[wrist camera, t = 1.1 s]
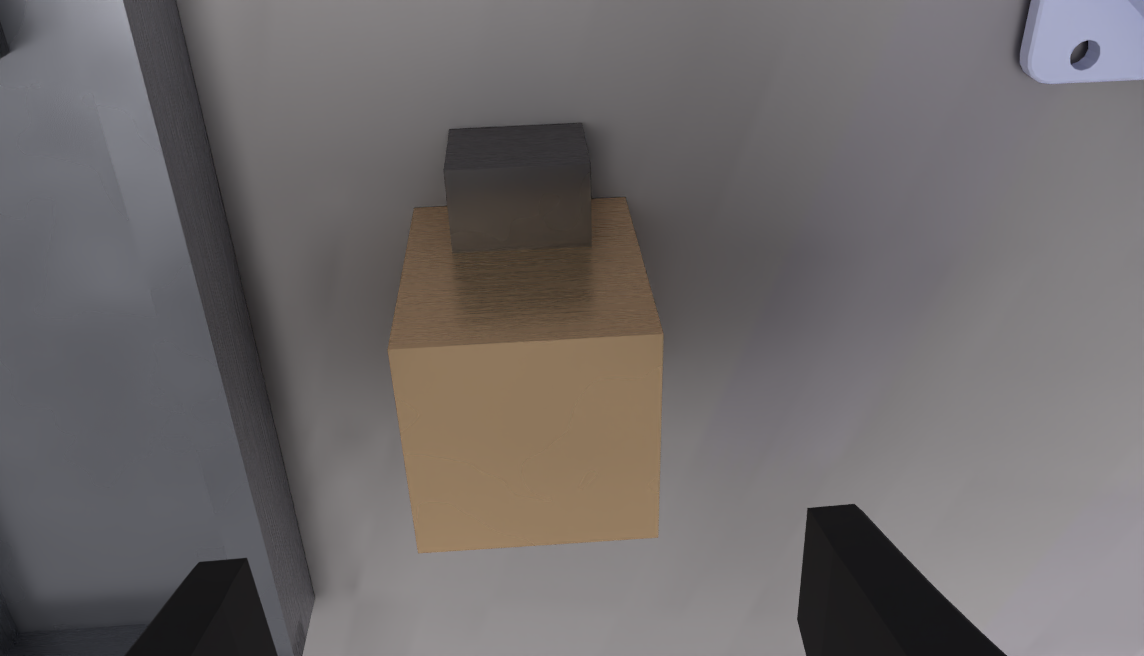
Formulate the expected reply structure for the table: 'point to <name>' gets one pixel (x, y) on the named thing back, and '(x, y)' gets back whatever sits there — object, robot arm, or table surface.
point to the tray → (123, 344)
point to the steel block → (3, 44)
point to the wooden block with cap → (526, 352)
